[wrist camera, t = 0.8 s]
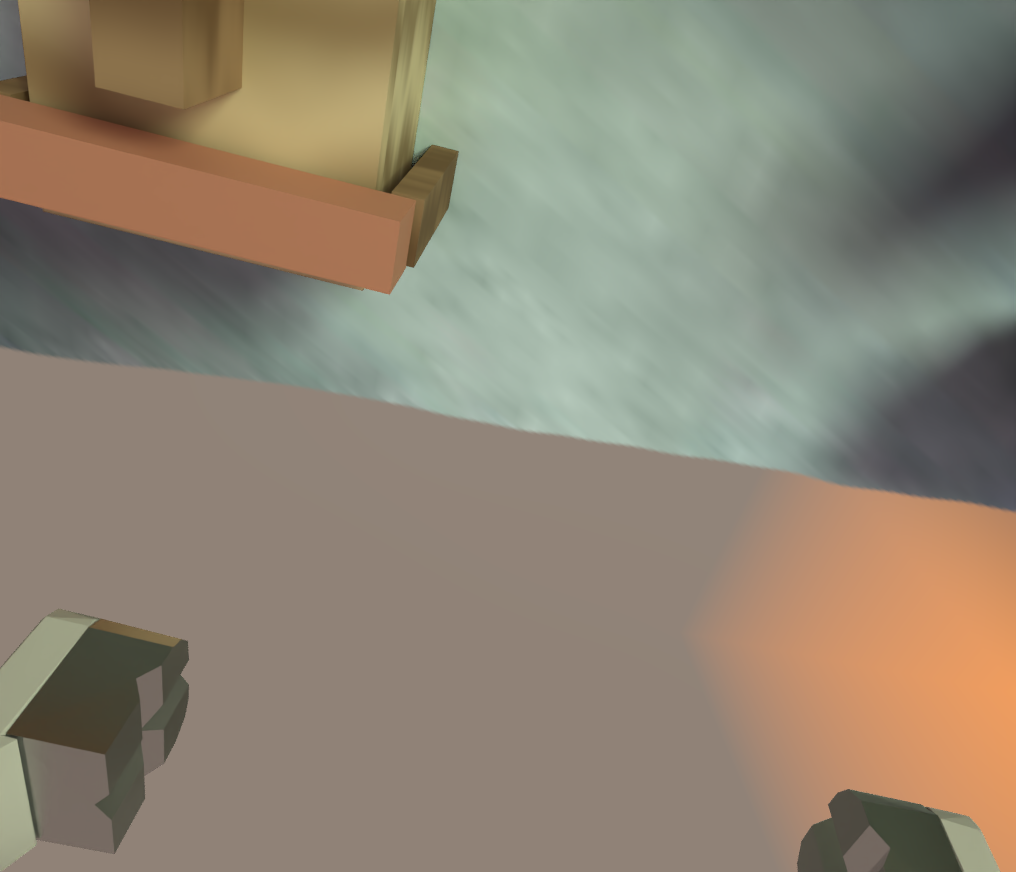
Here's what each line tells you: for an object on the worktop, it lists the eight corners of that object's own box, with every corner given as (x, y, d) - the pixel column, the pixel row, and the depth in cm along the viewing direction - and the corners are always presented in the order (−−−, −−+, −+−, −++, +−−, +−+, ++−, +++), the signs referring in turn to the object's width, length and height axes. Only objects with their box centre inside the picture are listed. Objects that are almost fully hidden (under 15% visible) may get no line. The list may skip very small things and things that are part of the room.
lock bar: (-22, 89, 30) (-78, 100, 28) (415, 200, 31) (400, 221, 28) (-10, 164, 32) (-62, 181, 29) (405, 268, 33) (389, 294, 30)
